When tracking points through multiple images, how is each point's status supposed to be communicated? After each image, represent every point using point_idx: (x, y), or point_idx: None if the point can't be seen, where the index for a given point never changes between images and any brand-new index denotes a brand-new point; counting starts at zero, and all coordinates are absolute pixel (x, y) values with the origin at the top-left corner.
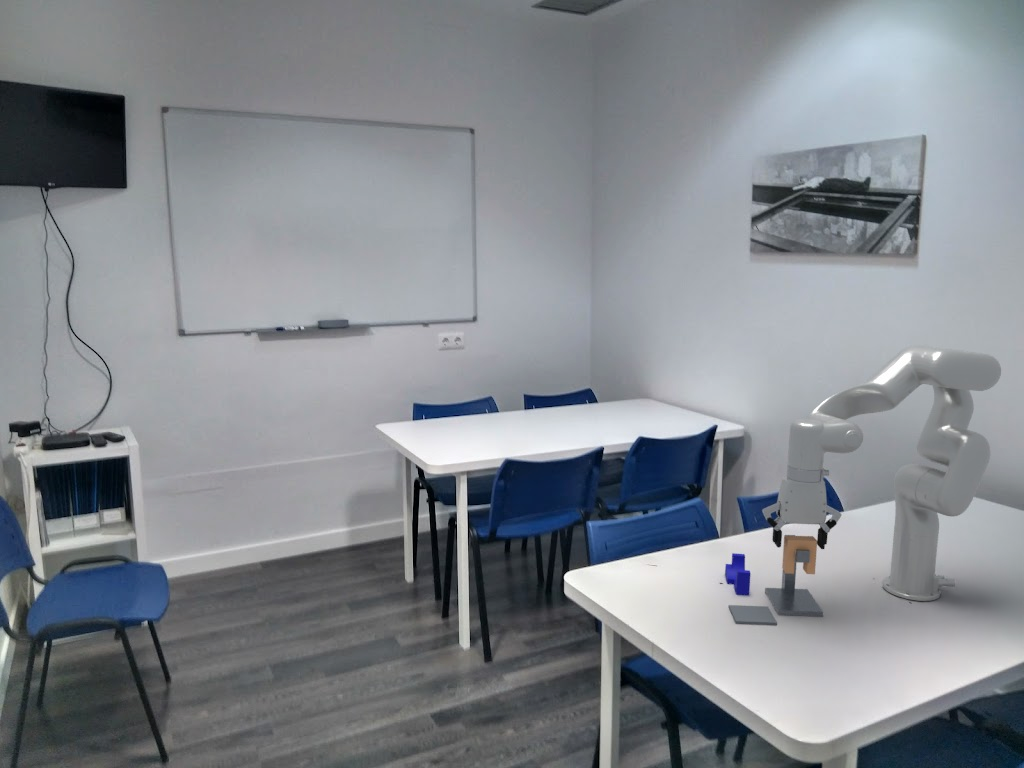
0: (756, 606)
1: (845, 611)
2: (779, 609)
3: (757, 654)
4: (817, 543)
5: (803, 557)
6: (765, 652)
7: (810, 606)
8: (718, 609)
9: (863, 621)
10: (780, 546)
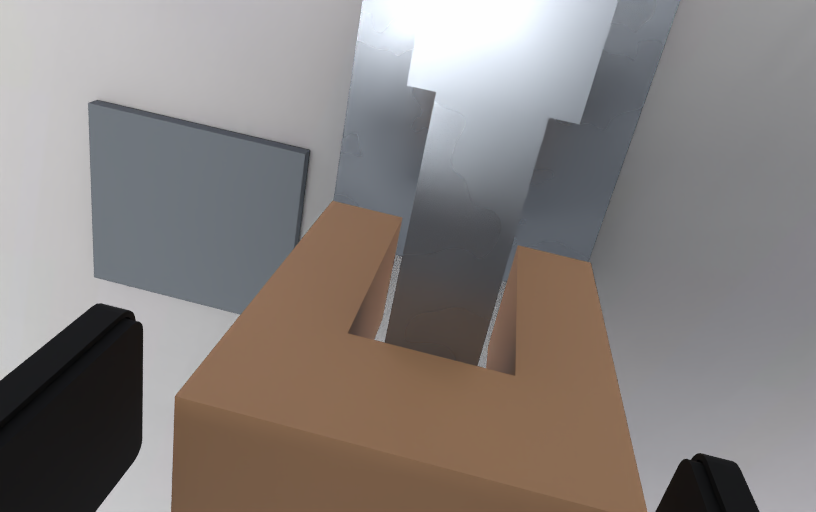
0: (238, 143)
1: (757, 249)
2: None
3: (137, 486)
4: (683, 478)
5: None
6: (169, 483)
7: (540, 228)
8: (41, 113)
9: (765, 365)
10: (129, 457)
